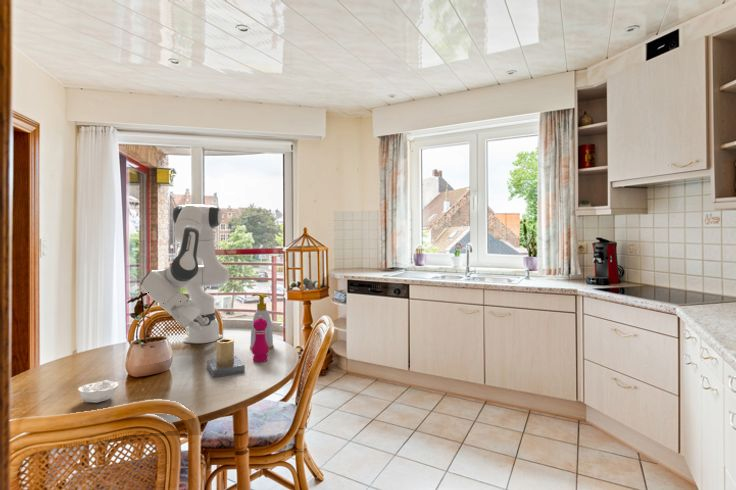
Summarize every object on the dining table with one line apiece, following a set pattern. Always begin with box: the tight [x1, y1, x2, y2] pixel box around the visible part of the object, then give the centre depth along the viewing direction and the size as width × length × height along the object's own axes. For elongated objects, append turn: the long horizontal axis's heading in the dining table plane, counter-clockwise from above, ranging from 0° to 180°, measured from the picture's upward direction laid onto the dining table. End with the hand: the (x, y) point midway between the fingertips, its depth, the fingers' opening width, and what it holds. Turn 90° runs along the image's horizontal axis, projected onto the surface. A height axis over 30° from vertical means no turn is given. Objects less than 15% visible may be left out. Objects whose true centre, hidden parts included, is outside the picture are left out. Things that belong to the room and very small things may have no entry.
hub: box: [216, 338, 235, 365], centre depth 165 cm, size 6×6×9 cm
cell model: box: [77, 379, 120, 404], centre depth 135 cm, size 10×12×7 cm
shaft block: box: [206, 355, 246, 379], centre depth 165 cm, size 14×12×9 cm
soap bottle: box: [249, 293, 274, 350], centre depth 196 cm, size 11×12×26 cm
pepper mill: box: [251, 315, 270, 363], centre depth 178 cm, size 7×7×20 cm
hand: (202, 327), depth 163 cm, fingers open, 8 cm apart
